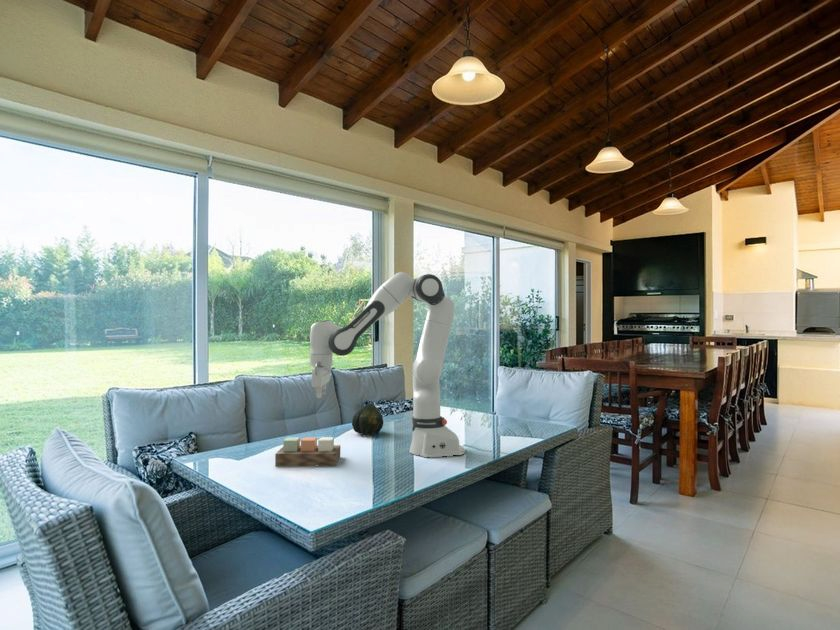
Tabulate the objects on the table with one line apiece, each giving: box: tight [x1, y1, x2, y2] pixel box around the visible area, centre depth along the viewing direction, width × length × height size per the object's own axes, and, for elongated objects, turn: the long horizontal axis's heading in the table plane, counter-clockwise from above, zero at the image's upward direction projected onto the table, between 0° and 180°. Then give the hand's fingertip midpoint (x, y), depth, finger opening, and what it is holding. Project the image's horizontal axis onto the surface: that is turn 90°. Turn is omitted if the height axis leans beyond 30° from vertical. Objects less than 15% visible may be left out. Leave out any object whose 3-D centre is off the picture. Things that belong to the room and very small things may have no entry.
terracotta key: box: [300, 436, 318, 451], centre depth 186 cm, size 5×5×5 cm
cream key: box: [317, 436, 335, 451], centre depth 186 cm, size 5×5×5 cm
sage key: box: [282, 436, 301, 452], centre depth 186 cm, size 5×5×5 cm
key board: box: [274, 444, 341, 467], centre depth 186 cm, size 22×12×4 cm, turn 91°
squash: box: [351, 402, 384, 437], centre depth 231 cm, size 14×15×15 cm
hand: (320, 396), depth 194 cm, fingers open, 7 cm apart
